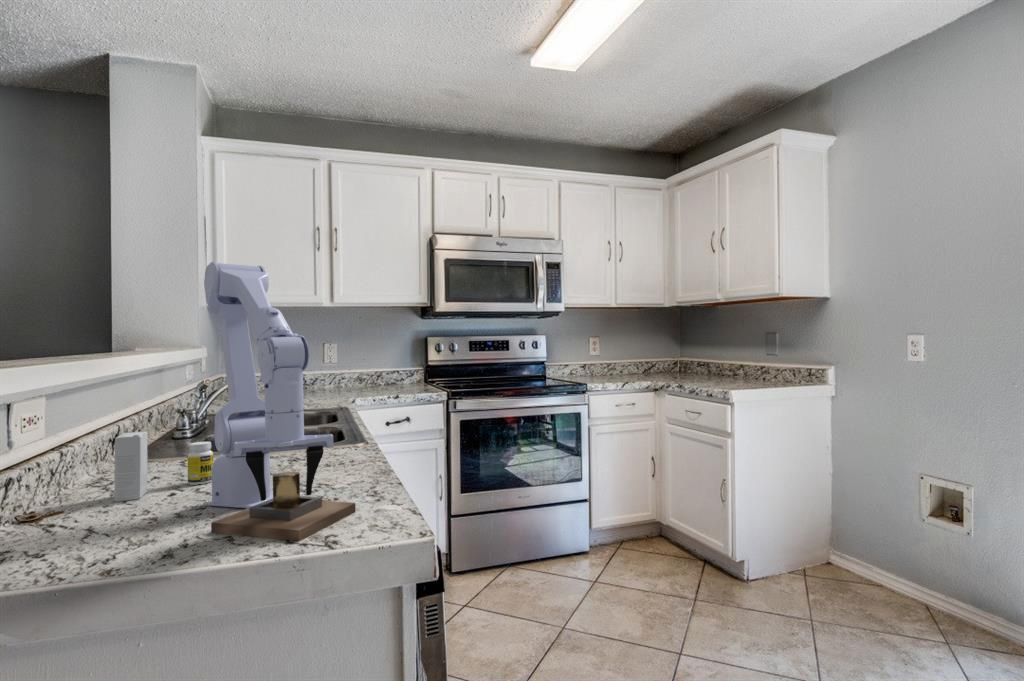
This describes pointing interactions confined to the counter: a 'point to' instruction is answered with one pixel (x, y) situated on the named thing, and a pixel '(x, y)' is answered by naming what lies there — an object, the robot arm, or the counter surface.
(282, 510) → the frame
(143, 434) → the skincare box
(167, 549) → the counter surface
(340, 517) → the jig plate
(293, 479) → the brass cylinder
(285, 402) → the robot arm
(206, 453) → the supplement bottle
